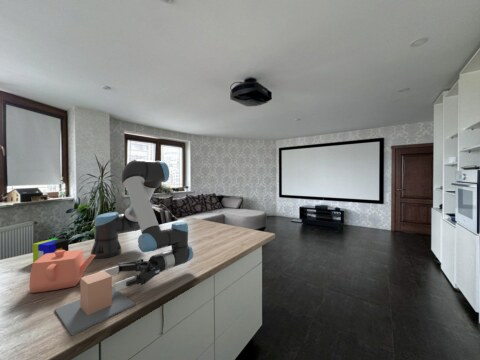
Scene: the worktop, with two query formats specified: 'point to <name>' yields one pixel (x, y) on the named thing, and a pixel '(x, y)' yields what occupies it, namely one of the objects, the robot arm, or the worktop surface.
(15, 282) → the worktop surface
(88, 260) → the teapot
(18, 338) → the worktop surface
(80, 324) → the mat
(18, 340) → the worktop surface
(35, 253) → the puzzle toy
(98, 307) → the block
